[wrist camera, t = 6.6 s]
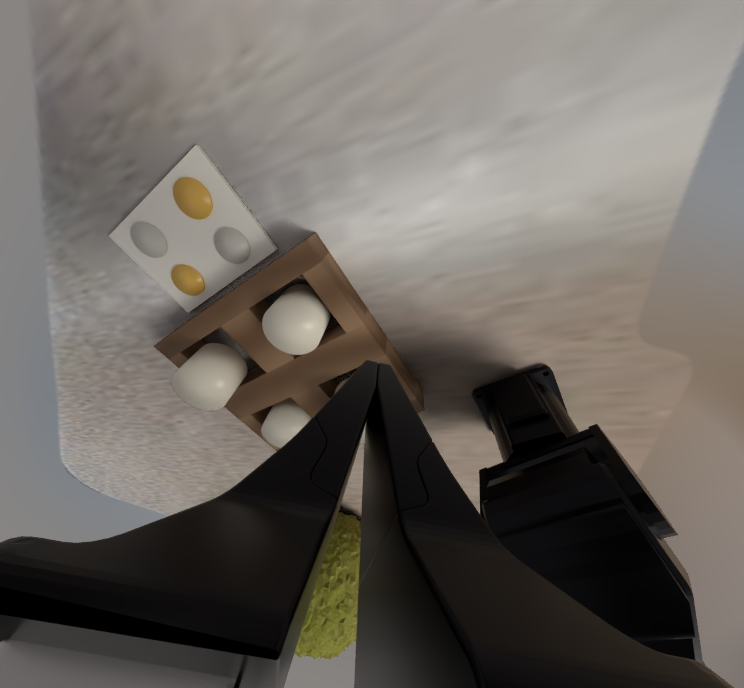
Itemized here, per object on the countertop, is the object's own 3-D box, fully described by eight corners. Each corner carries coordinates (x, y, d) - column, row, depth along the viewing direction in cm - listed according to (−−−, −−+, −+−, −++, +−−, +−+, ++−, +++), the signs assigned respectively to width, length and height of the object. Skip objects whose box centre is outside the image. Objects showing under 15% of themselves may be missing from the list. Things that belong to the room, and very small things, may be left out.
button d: (257, 371, 23) (238, 400, 20) (225, 388, 24) (203, 416, 22) (220, 335, 21) (194, 360, 18) (188, 355, 23) (159, 381, 20)
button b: (322, 415, 28) (314, 442, 25) (292, 426, 29) (281, 453, 27) (296, 388, 26) (284, 414, 24) (266, 401, 28) (251, 427, 25)
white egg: (341, 318, 22) (332, 340, 19) (302, 339, 23) (288, 362, 20) (309, 274, 20) (294, 292, 17) (268, 300, 21) (249, 320, 19)
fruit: (354, 554, 47) (284, 665, 37) (305, 486, 47) (219, 579, 36) (424, 572, 36) (352, 742, 25) (359, 483, 35) (257, 617, 25)
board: (422, 390, 26) (424, 410, 24) (292, 438, 31) (284, 457, 29) (315, 232, 19) (305, 240, 17) (173, 330, 24) (153, 346, 22)
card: (278, 248, 20) (275, 250, 19) (190, 311, 23) (186, 314, 23) (199, 144, 17) (193, 144, 16) (112, 234, 20) (106, 236, 20)
